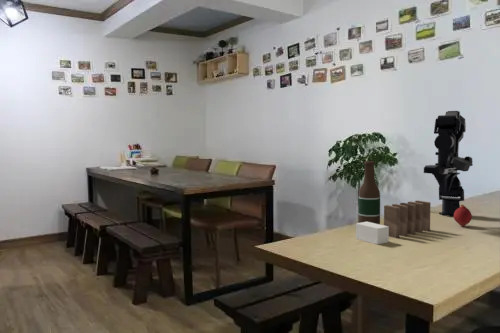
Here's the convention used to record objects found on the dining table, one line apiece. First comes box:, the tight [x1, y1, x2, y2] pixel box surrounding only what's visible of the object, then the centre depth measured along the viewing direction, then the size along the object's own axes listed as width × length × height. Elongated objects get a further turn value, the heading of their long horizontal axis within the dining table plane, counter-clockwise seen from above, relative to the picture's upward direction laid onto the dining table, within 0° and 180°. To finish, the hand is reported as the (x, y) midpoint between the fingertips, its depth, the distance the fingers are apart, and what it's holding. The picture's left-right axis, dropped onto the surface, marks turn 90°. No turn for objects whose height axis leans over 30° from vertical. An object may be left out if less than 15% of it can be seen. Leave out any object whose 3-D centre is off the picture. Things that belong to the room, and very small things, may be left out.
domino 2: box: [391, 203, 408, 237], centre depth 140 cm, size 2×5×10 cm, turn 32°
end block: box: [355, 222, 390, 245], centre depth 133 cm, size 5×9×5 cm, turn 32°
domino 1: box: [383, 204, 400, 239], centre depth 138 cm, size 2×5×10 cm, turn 32°
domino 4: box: [407, 201, 424, 234], centre depth 144 cm, size 2×5×10 cm, turn 31°
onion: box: [453, 203, 473, 227], centre depth 150 cm, size 6×6×8 cm
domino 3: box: [399, 202, 416, 236], centre depth 142 cm, size 2×5×10 cm, turn 32°
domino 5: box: [414, 200, 431, 232], centre depth 146 cm, size 2×5×10 cm, turn 32°
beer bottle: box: [357, 160, 381, 225], centre depth 152 cm, size 8×8×24 cm
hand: (445, 191), depth 155 cm, fingers closed
